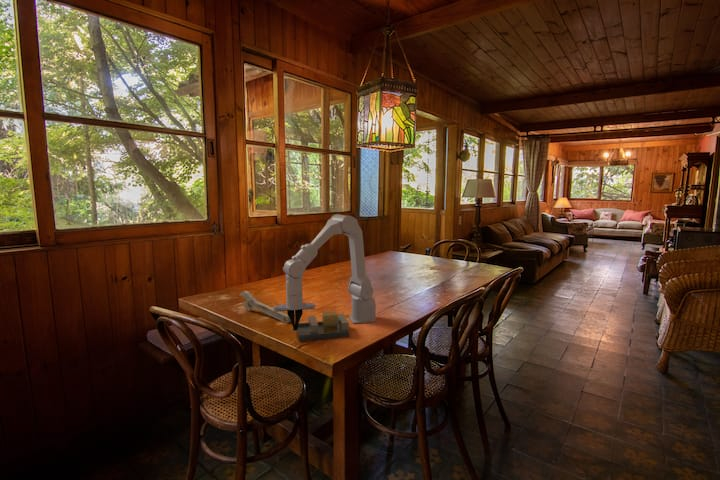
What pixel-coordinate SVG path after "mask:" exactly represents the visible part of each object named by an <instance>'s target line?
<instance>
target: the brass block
mask: <svg viewBox="0 0 720 480" xmlns="http://www.w3.org/2000/svg"><path fill="white" fill-rule="evenodd" d="M337 314H338V313H337V311H336V310H334V311H322V315H321V316H322V317H321V318H322V328H323V330H324V332H325V331H337Z"/></svg>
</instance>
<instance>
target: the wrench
mask: <svg viewBox="0 0 720 480" xmlns="http://www.w3.org/2000/svg"><path fill="white" fill-rule="evenodd" d="M239 297H243V298H244V299H245V302H242V303H241V305H242V307H244V308H245V309H246V310H247V312H253V310H254V309H255V310H257V311H260V312H261V313H262V312H263V313H264V314H265V315H267V316H270V317H273V318H274V319H277V320H278V321H280V322H283V323H285V324H289V323H291V320H290V318H289V316H288V314H287V313H285V312H284V311H281V312H276V313H274V307H271V306H269V305H267V304H265V303H262V302H260V301H258V300H257V299H256V298H255V297H254V296H253V295H252V293H251V292H250V291H248V290H244V291H243V292H240V294H239Z"/></svg>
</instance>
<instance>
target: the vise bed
mask: <svg viewBox="0 0 720 480" xmlns="http://www.w3.org/2000/svg"><path fill="white" fill-rule="evenodd" d="M317 323H318V333H316V334H311V332H310V329H309V323H308V322H299V324H298V328H297V330H296V335H297V340H298V343H299V342H310V341H323V340H330V339H331V340H332V339H334V340H335V339H344V338H350V329H349V327H350V326H349V325H350V323H349V321H348V319H347V317H346V315H345V314H344V313H337V331H325V332H324V330H323V328H322V321H317Z"/></svg>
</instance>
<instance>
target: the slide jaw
mask: <svg viewBox="0 0 720 480" xmlns="http://www.w3.org/2000/svg"><path fill="white" fill-rule="evenodd" d="M317 322H318V320H317V317H316V315H310V316H309V315H308V322H307V323H309V329H310V332H311V334H316V333H318V323H317Z"/></svg>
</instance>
